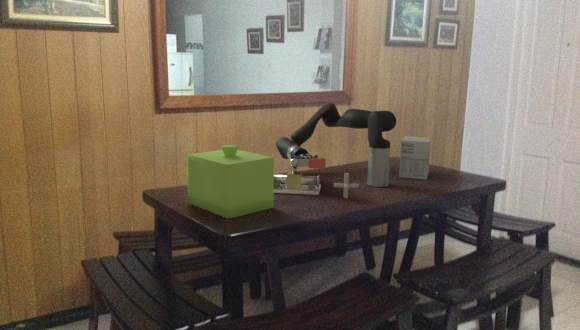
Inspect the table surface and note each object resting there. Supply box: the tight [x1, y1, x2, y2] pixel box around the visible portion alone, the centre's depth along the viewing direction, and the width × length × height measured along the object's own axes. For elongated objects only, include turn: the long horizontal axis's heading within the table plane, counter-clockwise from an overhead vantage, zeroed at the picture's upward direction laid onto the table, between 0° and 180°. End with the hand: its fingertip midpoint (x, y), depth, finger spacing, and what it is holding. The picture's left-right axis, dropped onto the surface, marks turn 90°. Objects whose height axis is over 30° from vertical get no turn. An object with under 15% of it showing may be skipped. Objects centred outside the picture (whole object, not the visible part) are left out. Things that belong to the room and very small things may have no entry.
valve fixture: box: [274, 167, 322, 196], centre depth 215 cm, size 22×12×10 cm, turn 83°
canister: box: [186, 144, 275, 220], centre depth 189 cm, size 25×21×23 cm
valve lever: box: [289, 157, 327, 170], centre depth 213 cm, size 15×4×4 cm, turn 86°
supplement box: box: [398, 135, 432, 181], centre depth 247 cm, size 17×13×18 cm
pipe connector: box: [333, 172, 360, 199], centre depth 205 cm, size 10×10×10 cm
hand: (312, 163), depth 215 cm, fingers closed
